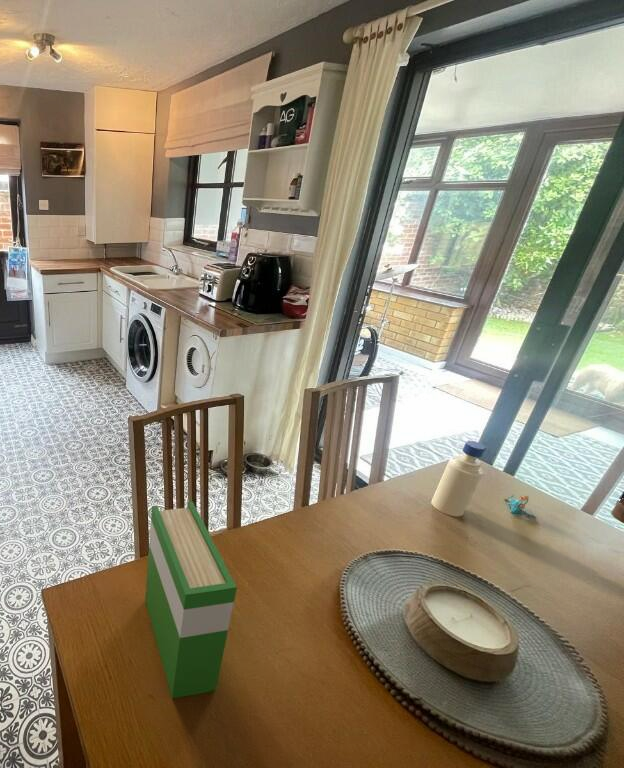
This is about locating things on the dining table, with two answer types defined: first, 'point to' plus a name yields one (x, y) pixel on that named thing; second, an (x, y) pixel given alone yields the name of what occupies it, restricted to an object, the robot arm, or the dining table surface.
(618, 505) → the chip
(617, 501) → the robot arm
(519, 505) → the dragon figurine
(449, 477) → the bottle
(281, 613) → the dining table surface
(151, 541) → the hardback book
